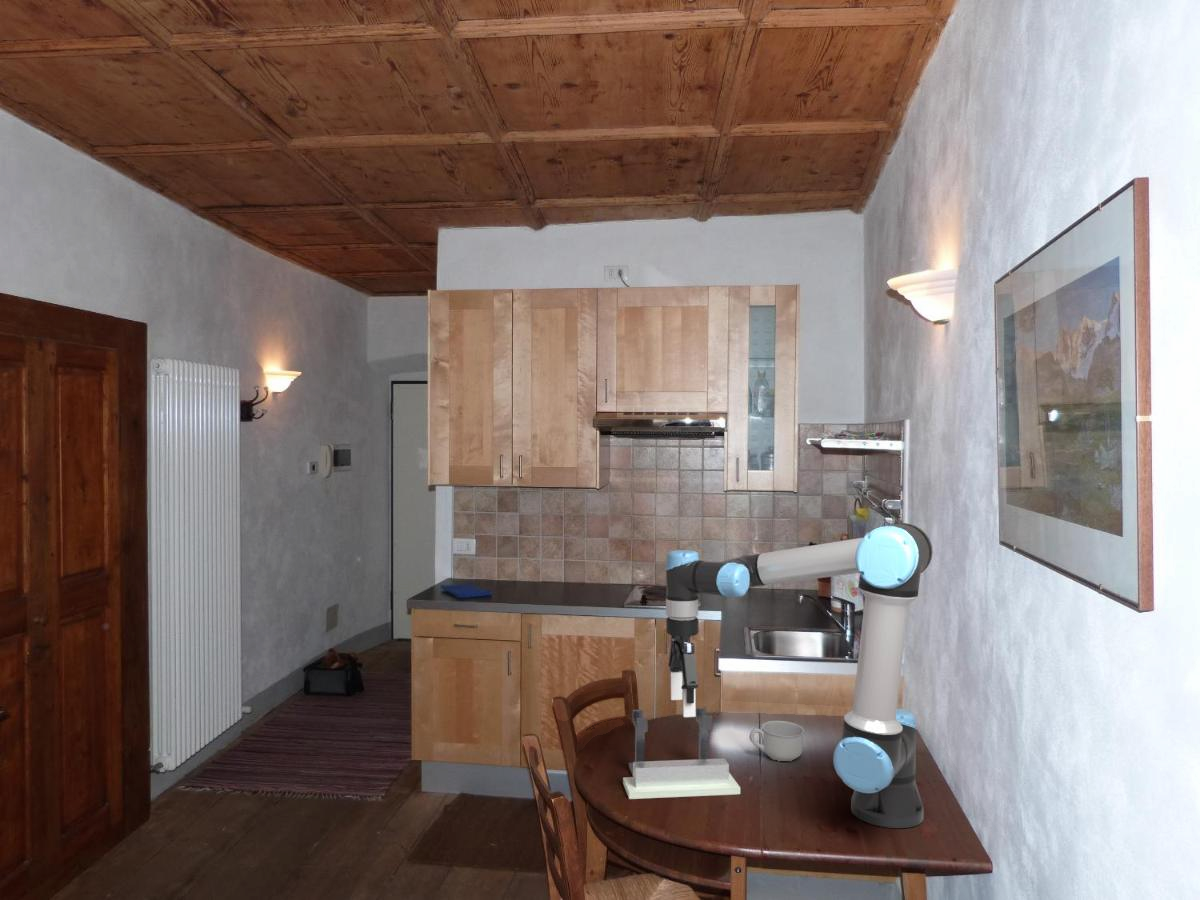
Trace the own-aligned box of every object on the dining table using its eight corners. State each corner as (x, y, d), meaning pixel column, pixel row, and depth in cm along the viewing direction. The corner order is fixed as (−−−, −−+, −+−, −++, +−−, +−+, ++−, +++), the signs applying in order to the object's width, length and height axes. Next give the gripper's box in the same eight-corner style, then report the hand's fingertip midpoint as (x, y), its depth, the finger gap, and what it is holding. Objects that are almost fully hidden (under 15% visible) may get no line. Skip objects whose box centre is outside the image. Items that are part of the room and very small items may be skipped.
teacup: (801, 751, 233) (801, 721, 233) (806, 766, 222) (806, 734, 222) (747, 749, 235) (747, 719, 234) (750, 764, 224) (750, 732, 224)
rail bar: (728, 783, 207) (728, 764, 207) (635, 787, 204) (636, 768, 204) (724, 777, 211) (724, 758, 211) (633, 780, 208) (633, 761, 208)
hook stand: (715, 776, 215) (716, 717, 215) (634, 779, 213) (634, 719, 212) (707, 764, 223) (707, 707, 223) (628, 767, 221) (629, 709, 220)
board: (740, 794, 205) (740, 787, 205) (629, 799, 201) (629, 792, 201) (729, 779, 214) (729, 773, 213) (623, 783, 210) (623, 777, 210)
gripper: (711, 627, 195) (711, 723, 195) (686, 606, 220) (686, 692, 220) (678, 628, 194) (678, 725, 194) (656, 607, 219) (656, 693, 219)
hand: (682, 707), depth 207 cm, fingers open, 13 cm apart
